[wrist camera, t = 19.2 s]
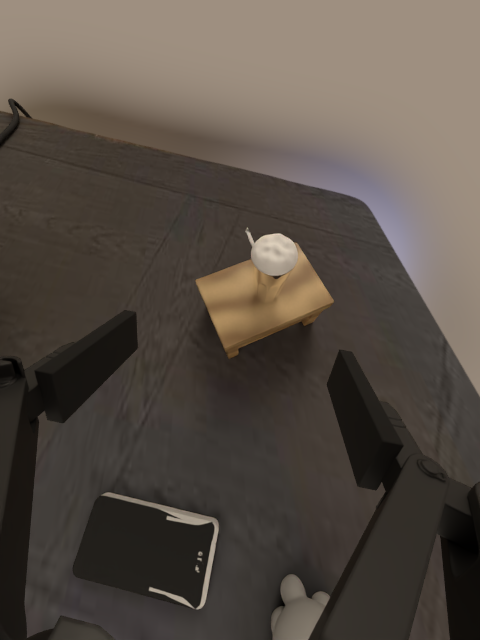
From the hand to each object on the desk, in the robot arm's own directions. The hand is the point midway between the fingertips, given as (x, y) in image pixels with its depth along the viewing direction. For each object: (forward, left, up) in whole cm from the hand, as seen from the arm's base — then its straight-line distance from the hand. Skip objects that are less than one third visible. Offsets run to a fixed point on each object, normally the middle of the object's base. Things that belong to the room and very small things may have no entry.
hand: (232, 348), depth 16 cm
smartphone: (+13, -16, -21) cm, 29 cm away
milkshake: (-8, +7, -13) cm, 17 cm away
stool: (-8, +8, -21) cm, 23 cm away
